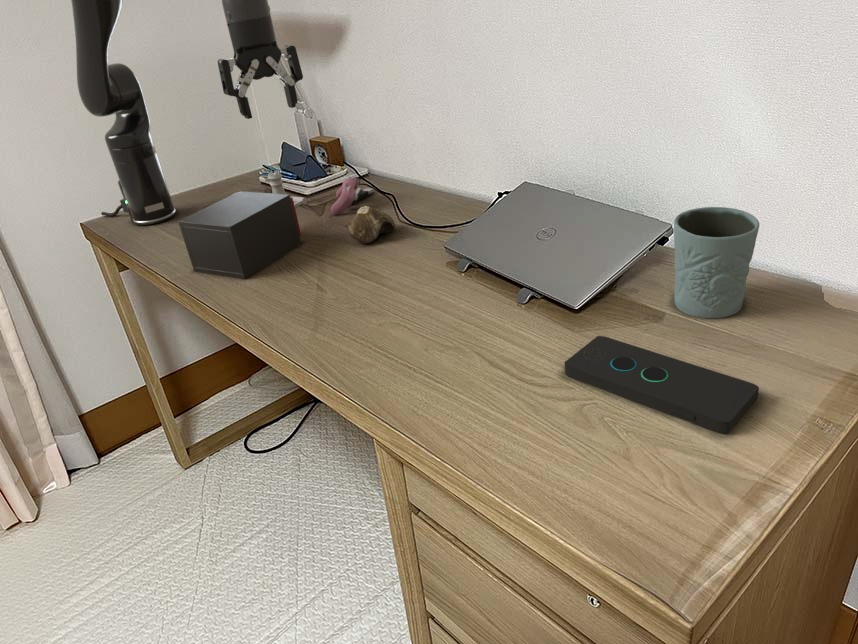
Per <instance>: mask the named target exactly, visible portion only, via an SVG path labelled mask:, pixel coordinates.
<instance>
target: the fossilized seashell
mask: <svg viewBox="0 0 858 644" xmlns="http://www.w3.org/2000/svg"><path fill="white" fill-rule="evenodd" d="M396 226H397V224H396V222H395V221H394V218H393V217H392V216H391V215H389V214H387V213H385V212H384V211H381V209H380V208H379V207H376V208H374V207H371V206H369V205H365V206H361V207H360V208H358V210H357V212H356V214H355V217H354V218H353V219H352V220H350V221H348V222H347V223H345V224H344V228H346V230H347V232H348V234H349V236H350V237H351V238H352V239H353V240H354V241H356V242H358V243H361V244H370V243H372V242H374V241H375V240H376V239H377V238H378V237H379V235H380V234H385V233H390V232H393V231H394V230H395V229H396Z"/></svg>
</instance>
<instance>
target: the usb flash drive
mask: <svg viewBox="0 0 858 644" xmlns="http://www.w3.org/2000/svg"><path fill="white" fill-rule="evenodd" d="M373 192H375V190H374V188H370V187H366V188H365V189H363V190H362V187H357V190H356V192H355V193H356V196H357V197H358V198H357V200H356V199H355V200H356V201H355V200H354V201H353V202H352V204H351V205H354V204H356V203H357V202H359V201H360V200H363V199H364V198H366V197H368V196H370V194H371V193H373Z"/></svg>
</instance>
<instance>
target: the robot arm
mask: <svg viewBox="0 0 858 644" xmlns="http://www.w3.org/2000/svg"><path fill="white" fill-rule="evenodd" d="M70 1H71V8H72V17H73V25H74V26H73V27H74V35H75V55H76V59H75V60H76V61H75V62H76V63H75V64H76V82H77V83H76V84H77V89H78V94H79V98H80V100H81V102H82V104H83V107H84V108H85V109H86V110H87V111H88V112H89V114H91V115H92V116H95V117H100V118H101V117H107V116H112V115H115V120H114V122H113V124H112V126H111V127H110V129H108V131H106V132H105V134H104V141H105V144H106V147H107V150H108V152H109V155H110V158H111V161H112V163H113V166H114V169H115V172H116V175H117V178H118V181H117V184H118V187H119V189H120V192H121V195H122V199H119V202H120V205H118V206H117V207H116V208H115V211H113V212H107V211H102V212H101V216H106V217H114V216H116V215H118V214H119V213H120V210H123V213H128V215H129V218H130V220H131V222H132V223H133V224H134V225H137V226H149V225H155V224H159V223H162V222H165V221H167V220H170V219H171V218H173V217H175V216H176V214H177V211H176V208H175V207H174V203H173V200H172V197H171V193H170V190H169V187H168V184H167V181H166V178H165V174H164V171H163V169H162V166H161V163H160V160H159V156H158V152H157V150H156V146H155V144H154V141H153V138H152V135H151V120H150V116H149V113H148V108H147V105H146V102H145V97H144V94H143V91H142V87H141V84H140V82H139V79H138V78H137V75H136V74H135V73H134V71H133V70H132V69H131V68H130V67H129V66H127V65H126V64H124V63H120V62H117V63H111V64H110V63H109V55H108V54H109V46H110V42H111V39H112V36H113V34H114V31H115V28H116V27H117V23H118V21H119V19H120V16H121V12H122V8H123V4H124V3H123V2H124V0H70ZM221 5H222V10H223V13H224V17H225V21H226V22H225V23H226V26H227V29H228V33H229V38H230V43H231V46H232V49H233V57H231V58H219V59H218V60H217V66H218V72H219V76H220V82H221V87H222V91H223V94H224V95H226V96H229V97H234V98H236V101H237V106H238V109H239V113H240V115H241V116H243V117H244V118H245V119H246V120H250V119H252V118H253V115H252V110H251V107H250V101H249V98H248V96H246V94H247V92H248V89H249V87H250V86H251V84H252V82H253V80H255V81H258V80H262V79H263V78H271V77H273V76H274V77H276V78H277V79H278V80H279V81H281V82H282V84H284V86H283V89H284V94H285V99H286V103H287V104H286V105H287V107H288V108H290V109H291V108H292V109H294V108H296V107H297V105H296V104H298V101H299V100H298V95H297V90H296V84H297V83H298V82H299V81H302V80H303V79H304V74H303V70H302V66H301V63H300V59H299V55H298V52H297V51H298V50H297V48H296V47H295V46H296V45H295V46H294V45H293V44H285V45H284V46H283V47H279V46H278V44H277V37H276V33H275V29H274V24H273V20H272V15H271V7H270V5H269V1H268V0H221ZM282 56H283V59H285V60H286V61H287V65H288V68H289V72H290V75H289V74H288V73H287V71H286V70H285V69H284V68H283V67H282V66H281V65H280V61H281V58H282ZM234 66H236V67H237V68H238V69H239V70H240V73H239V75H238V78H237V83H236V86H235V87H234V83H233V82H234V81H233V77H232V72H233V71H234Z"/></svg>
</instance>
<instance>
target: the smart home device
mask: <svg viewBox="0 0 858 644" xmlns="http://www.w3.org/2000/svg"><path fill="white" fill-rule="evenodd" d="M564 374H565V375H566V376H567V377H568V378H571V379H574V380H577V381H579V382H581V383H584V384H586V385H590V386H593V387H595V388H598V389H600V390H603V391H606V392H607V393H611V394H614V395H617V396H619V397H621V398H624V399H627V400H630V401H633V402H635V403H638V404H641V405H643V406H645V407H648V408H651V409H653V410H657V411H659V412H662V413H665V414H667V415H670V416H672V417H675V418H677V419H680V420H683V421H686V422H688V423H691V424H693V425H697V426H699V427H701V428H704V429H707V430H710V431H712V432H715V433H719V434H723V435H728V434H730V432H731V431H732V430H733V429H734V428H735V427H736V426H737V425H738V423H739V422H740V421H741V420H742V418H743V417H744V416H745V415H746V414H747V413H748V411H749V410H750V409H751V408H752V407H753V406H754V404H755V403H756V402H757V401H758V398H759V391H760V386H758V385H757V384H755V383H753V382H750V381H747V380H744V379H741V378H737V377H734V376H731V375H728V374H724V373H721V372H719V371H716V370H712V369H708V368H706V367H702V366H700V365H697V364H693V363H690V362H686V361H683V360H680V359H676V358H674V357H672V356H668V355H664V354H662V353H659V352H655V351H652V350H649V349H645V348H643V347H640V346H636V345H633V344H630V343H627V342H623V341H620V340H618V339H614V338H612V337H608V336H603V335H597V336H595V337H594V338H593V339H592V340H590V342H588V343H587V344H585V345H584V346H583V347H582V348H581V349H579V350H578V351H576V352H575V353H574V354H573V355H572V356H570V357H569V358H568V359H566V360H565V361H564Z"/></svg>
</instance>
